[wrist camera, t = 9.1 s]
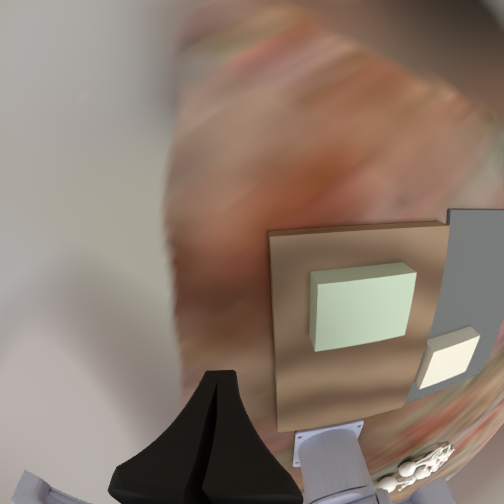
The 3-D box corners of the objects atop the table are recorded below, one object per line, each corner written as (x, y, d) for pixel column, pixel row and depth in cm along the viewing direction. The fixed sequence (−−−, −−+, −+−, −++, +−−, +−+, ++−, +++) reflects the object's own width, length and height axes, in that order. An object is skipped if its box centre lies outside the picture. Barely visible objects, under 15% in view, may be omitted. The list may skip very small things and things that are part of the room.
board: (398, 398, 24) (402, 406, 23) (276, 421, 24) (277, 432, 23) (438, 221, 18) (449, 225, 17) (267, 231, 18) (269, 236, 17)
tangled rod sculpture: (464, 433, 34) (472, 444, 30) (422, 473, 37) (428, 484, 33) (418, 441, 30) (428, 457, 26) (368, 486, 33) (374, 500, 29)
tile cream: (456, 361, 23) (465, 371, 21) (411, 377, 23) (419, 389, 21) (470, 326, 21) (480, 335, 19) (423, 340, 21) (433, 352, 19)
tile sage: (393, 321, 19) (404, 335, 17) (309, 334, 19) (314, 351, 17) (402, 261, 17) (416, 272, 16) (310, 271, 17) (317, 284, 16)
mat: (479, 369, 25) (481, 371, 24) (402, 401, 25) (404, 403, 24) (523, 210, 18) (525, 211, 17) (447, 209, 18) (450, 209, 17)
